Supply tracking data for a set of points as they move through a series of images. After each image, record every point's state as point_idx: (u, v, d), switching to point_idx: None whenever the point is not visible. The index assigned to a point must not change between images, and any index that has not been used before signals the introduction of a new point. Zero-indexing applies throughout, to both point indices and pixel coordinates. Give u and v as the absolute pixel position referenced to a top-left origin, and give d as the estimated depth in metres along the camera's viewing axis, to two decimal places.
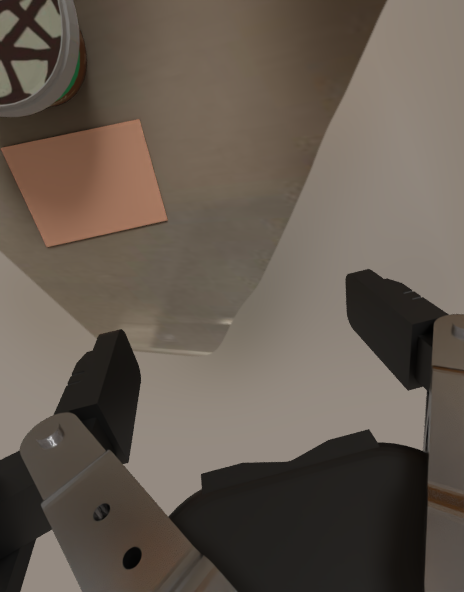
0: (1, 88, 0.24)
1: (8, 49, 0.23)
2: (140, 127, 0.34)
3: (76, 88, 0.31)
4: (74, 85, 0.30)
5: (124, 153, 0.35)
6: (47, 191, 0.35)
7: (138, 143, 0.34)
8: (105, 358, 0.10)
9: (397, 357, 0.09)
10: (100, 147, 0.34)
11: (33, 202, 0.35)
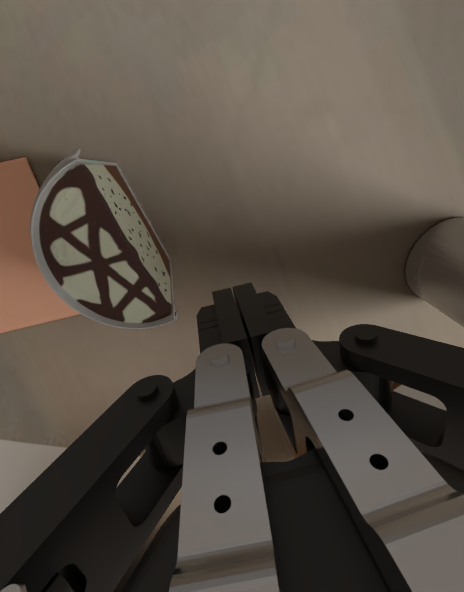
0: (62, 255, 0.21)
1: (103, 270, 0.21)
2: None
3: None
4: None
5: (54, 295, 0.31)
6: None
7: (68, 309, 0.32)
8: (231, 308, 0.11)
9: (255, 365, 0.10)
10: None
11: None
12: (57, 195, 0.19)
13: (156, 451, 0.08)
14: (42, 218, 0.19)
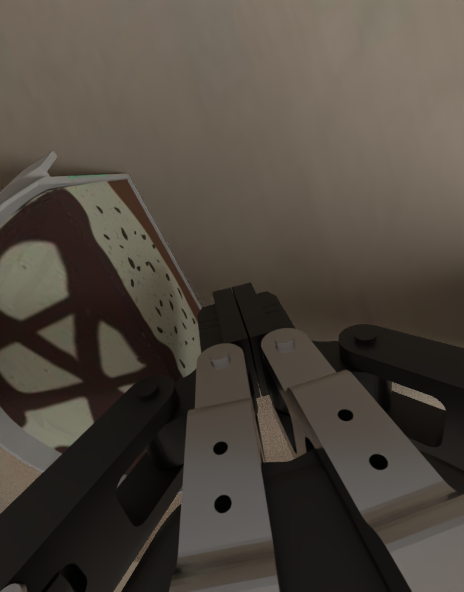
0: (20, 374, 0.10)
1: (106, 396, 0.11)
2: None
3: None
4: None
5: None
6: None
7: None
8: (231, 307, 0.11)
9: (254, 366, 0.10)
10: None
11: None
12: (2, 259, 0.08)
13: (157, 451, 0.08)
14: None
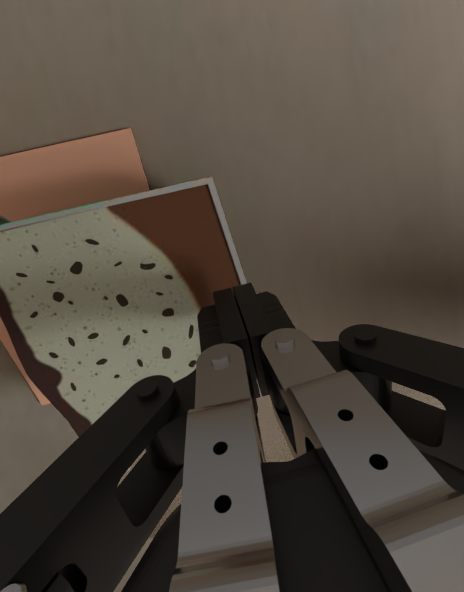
0: None
1: None
2: None
3: None
4: None
5: None
6: (51, 207, 0.16)
7: None
8: (231, 307, 0.11)
9: (254, 365, 0.10)
10: None
11: (16, 171, 0.15)
12: None
13: (157, 451, 0.08)
14: None
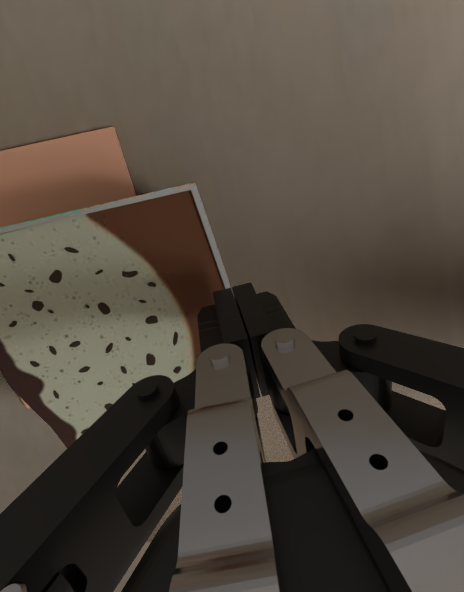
0: None
1: None
2: None
3: None
4: None
5: None
6: (33, 207, 0.16)
7: None
8: (231, 307, 0.11)
9: (254, 365, 0.10)
10: None
11: None
12: None
13: (157, 451, 0.08)
14: None
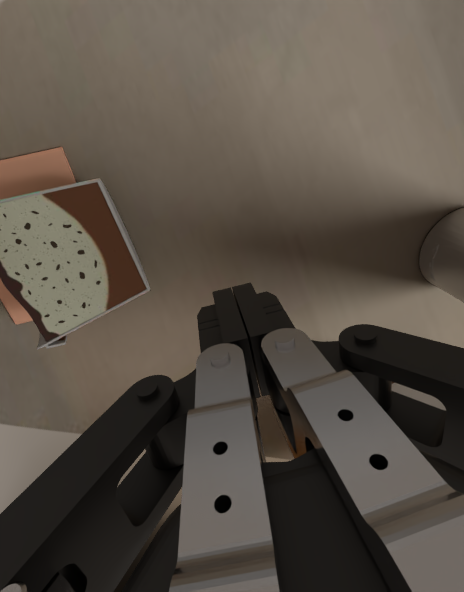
0: None
1: None
2: None
3: None
4: None
5: None
6: (16, 193, 0.27)
7: None
8: (231, 307, 0.11)
9: (254, 366, 0.10)
10: None
11: None
12: None
13: (157, 451, 0.08)
14: None
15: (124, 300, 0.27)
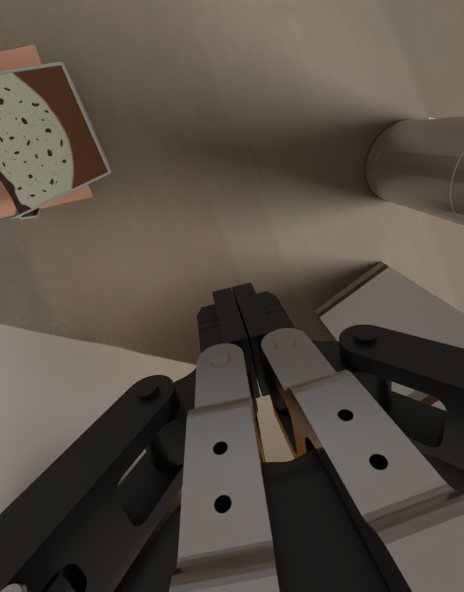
0: None
1: None
2: (85, 197, 0.37)
3: None
4: None
5: None
6: None
7: (70, 194, 0.36)
8: (231, 307, 0.11)
9: (254, 365, 0.10)
10: None
11: None
12: None
13: (157, 451, 0.08)
14: None
15: (88, 180, 0.31)
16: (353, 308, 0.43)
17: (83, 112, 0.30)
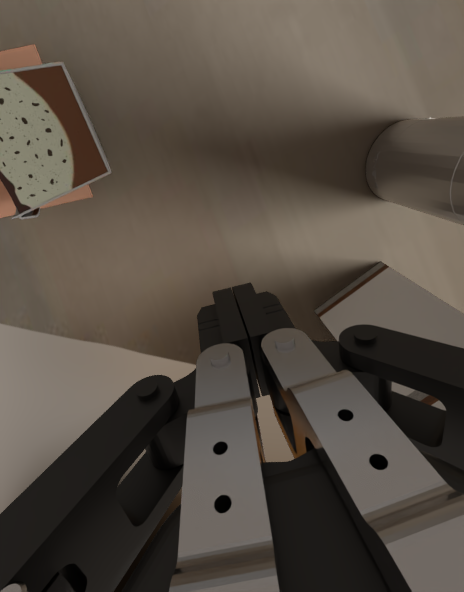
0: None
1: None
2: (85, 197, 0.37)
3: None
4: None
5: None
6: None
7: (70, 194, 0.36)
8: (231, 307, 0.11)
9: (254, 365, 0.10)
10: None
11: None
12: None
13: (157, 451, 0.08)
14: None
15: (88, 180, 0.31)
16: (353, 308, 0.43)
17: (83, 112, 0.30)
